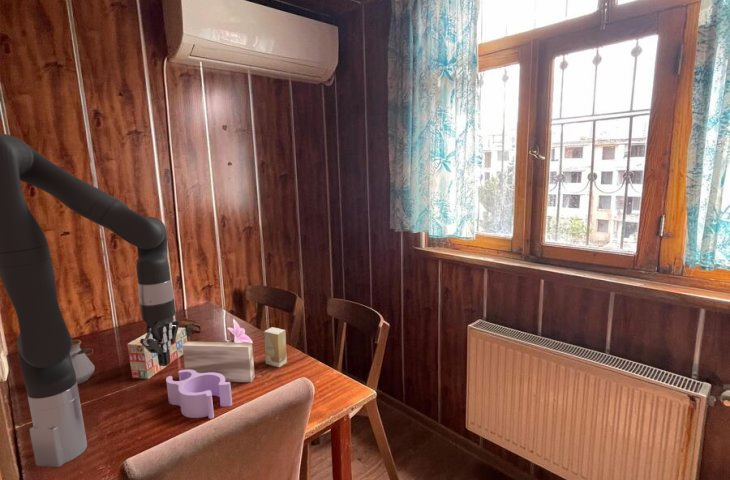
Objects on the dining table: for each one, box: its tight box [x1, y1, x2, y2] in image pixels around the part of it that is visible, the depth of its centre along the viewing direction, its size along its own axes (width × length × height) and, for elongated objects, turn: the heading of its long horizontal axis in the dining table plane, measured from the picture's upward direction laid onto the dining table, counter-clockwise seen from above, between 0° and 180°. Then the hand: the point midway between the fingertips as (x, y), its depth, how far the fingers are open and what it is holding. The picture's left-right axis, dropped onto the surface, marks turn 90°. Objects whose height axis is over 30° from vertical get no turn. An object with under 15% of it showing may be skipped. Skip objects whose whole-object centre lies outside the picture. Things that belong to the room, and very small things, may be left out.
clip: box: [165, 369, 233, 420], centre depth 117 cm, size 20×12×7 cm, turn 61°
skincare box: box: [263, 326, 288, 368], centre depth 139 cm, size 6×4×12 cm
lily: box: [227, 319, 254, 344], centre depth 153 cm, size 12×12×10 cm
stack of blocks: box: [127, 327, 188, 380], centre depth 141 cm, size 21×6×12 cm, turn 168°
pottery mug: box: [178, 317, 202, 338], centre depth 166 cm, size 12×10×8 cm
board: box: [182, 340, 256, 383], centre depth 129 cm, size 3×22×12 cm, turn 84°
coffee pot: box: [70, 339, 95, 386], centre depth 128 cm, size 21×12×15 cm, turn 55°
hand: (165, 364), depth 101 cm, fingers closed
